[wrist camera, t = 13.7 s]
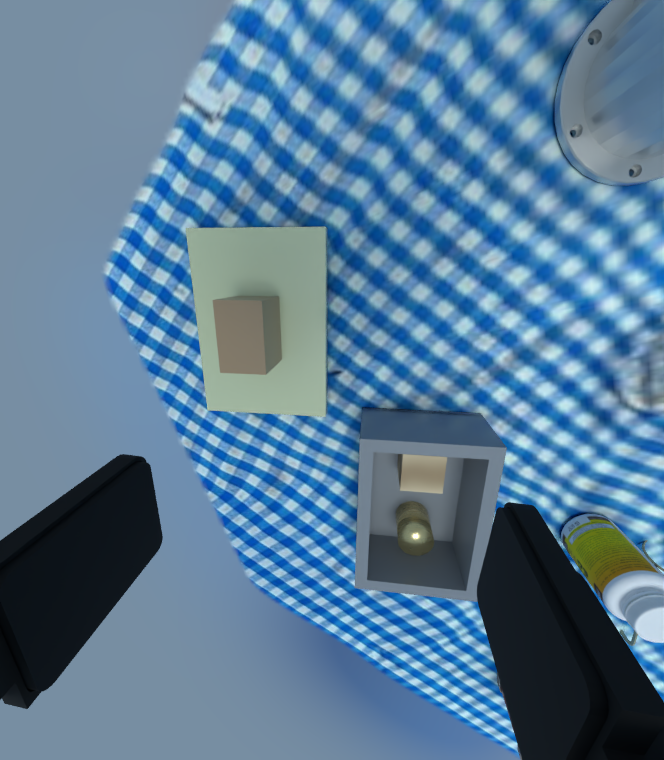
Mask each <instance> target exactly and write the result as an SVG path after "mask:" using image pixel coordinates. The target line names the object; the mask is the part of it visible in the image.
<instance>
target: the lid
mask: <svg viewBox="0 0 664 760" xmlns="http://www.w3.org/2000/svg"><path fill="white" fill-rule="evenodd" d="M186 235H187V244H188V252H189V260H190V268H191V277H192V285H193V293H194V301H195V310H196V318H197V326H198V334H199V343H200V351H201V359H202V367H203V376H204V384H205V392H206V400H207V409H208V410H213V411H231V412H248V413H266V414H284V415H302V416H320V417H326V414H327V228H326V227H247V228H186Z"/></svg>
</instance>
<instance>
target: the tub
mask: <svg viewBox="0 0 664 760" xmlns="http://www.w3.org/2000/svg"><path fill="white" fill-rule="evenodd" d="M506 449H507V448H506V446H505V445H504V444H503V442H502V441H501V440H500V438H499V437H498V436H497V434H496V433H495V432H494V430H493V429H492V428H491V426H490V425H489V424H488V422H487V421H486V420H485V418H484V417H483V416H482V415H481V413H463V412H444V411H424V410H404V409H384V408H364V407H363V408H362V420H361V431H360V449H359V479H358V509H357V539H356V568H355V588H360V589H369V590H378V591H387V592H396V593H405V594H414V595H422V596H431V597H440V598H449V599H458V600H467V601H475V602H477V601H478V600H477V584H478V580H479V576H480V573H481V569H482V565H483V561H484V557H485V553H486V549H487V545H488V542H489V538H490V533H491V528H492V523H493V517H494V512H495V507H496V502H497V496H498V491H499V486H500V481H501V476H502V470H503V465H504V460H505V455H506ZM398 454H410V455H425V456H440V457H447V463H446V471H445V478H444V486H443V494H438V493H426V492H413V491H400V486H399V477H398V469H397V465H398ZM408 501H414V502H418V503H420V504H422V505H423V506H425V508H426V509H427V511H428V516H429V520H430V524H431V529H432V533H433V538H434V546H433V548H432V549H431V550H430V551H429V552H428V553H426V554H424V555H420V556H414V555H410V554H407V553H405V552H404V551H403V550H402V549H401V548H400V547H399V544H398V536H397V524H396V510H397V508H398V507H399V506H400V505H401V504H402V503H405V502H408Z"/></svg>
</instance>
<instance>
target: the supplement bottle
mask: <svg viewBox="0 0 664 760" xmlns="http://www.w3.org/2000/svg"><path fill="white" fill-rule="evenodd" d="M561 540H562V543H563V545H564V547H565V548H566V550H567V551H568V553H569V554H570V555H571V557H572V558H573V560H574V561H575V563H576V564H577V566H578V567H579V568H580V570H581V571H582V573H583V574H584V576H585V577H586V578H587V580H588V581H589V583H590V584H591V586H592V587H593V589H594V590H595V591H596V593H597V594H598V596H599V597H600V599H601V600H602V602H603V603H604V604H605V606H606V607H607V608H608V610H609V611H610V612H611V613H612V614H613V615H615V616H616V617H618V618H620V619H622V620H625V621H627V622H628V623H629V624H630V625H631V626H632V628H633V629H634V630H635V632H636V633H637V634H638V635H639V636H640V637H641V638H643V639H645V640H647V641H651V642H657V643H663V642H664V575H663V574H662V572H661V571H660V570H659V569H658V568H657V567H656V566H655V565H654V564H653V563H652V562H651V561H650V560H649V559H648V558H647V557H646V556H645V555H644V554H643V553H642V552H641V551H640V549H639V548H638V547H637V546H636V545H635V544H634V543H633V542H632V541H631V540H630V539H629V538H628V537H627V536H626V535H625V534H624V533H623V532H622V531H621V530H620V529H619V528H618V527H617V526H616V525H615V524H614V523H613V522H612V521H611V520H610V519H608V518H606V517H604V516H601V515H597V514H583V515H580V516H577V517H575V518H573V519H571V520H570V521H569V522H567V523H566V525H565V526H564V527H563V529H562V532H561Z"/></svg>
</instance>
